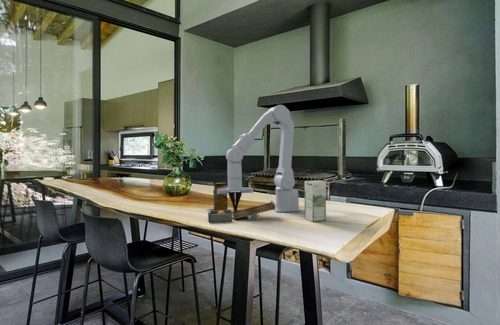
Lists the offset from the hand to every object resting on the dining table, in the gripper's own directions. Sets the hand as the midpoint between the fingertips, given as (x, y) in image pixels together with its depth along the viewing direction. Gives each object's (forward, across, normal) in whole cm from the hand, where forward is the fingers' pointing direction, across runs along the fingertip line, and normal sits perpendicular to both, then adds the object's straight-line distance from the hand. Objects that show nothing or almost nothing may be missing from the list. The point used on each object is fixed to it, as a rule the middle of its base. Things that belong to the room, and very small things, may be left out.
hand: (235, 210), depth 130 cm
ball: (0, +6, +8) cm, 10 cm away
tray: (+1, +6, +8) cm, 10 cm away
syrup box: (+2, -29, +15) cm, 33 cm away
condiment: (+2, +7, -9) cm, 11 cm away
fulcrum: (+1, -7, +8) cm, 11 cm away
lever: (-1, -7, +5) cm, 8 cm away
